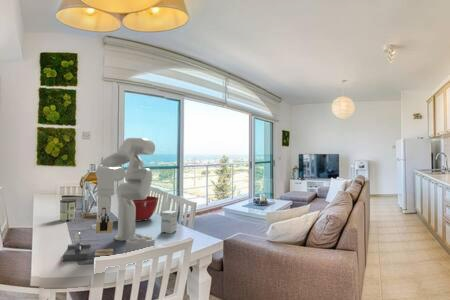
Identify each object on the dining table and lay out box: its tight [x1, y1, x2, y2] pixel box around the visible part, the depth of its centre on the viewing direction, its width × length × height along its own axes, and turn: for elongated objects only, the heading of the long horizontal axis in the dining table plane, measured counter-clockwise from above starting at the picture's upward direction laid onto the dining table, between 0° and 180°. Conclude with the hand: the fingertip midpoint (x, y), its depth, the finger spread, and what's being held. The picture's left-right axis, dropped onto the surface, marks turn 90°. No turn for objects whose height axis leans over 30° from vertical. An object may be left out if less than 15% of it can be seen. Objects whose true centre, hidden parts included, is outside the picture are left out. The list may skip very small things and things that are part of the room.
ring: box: [95, 219, 114, 234], centre depth 144 cm, size 7×7×5 cm
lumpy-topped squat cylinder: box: [125, 233, 155, 254], centre depth 144 cm, size 10×13×9 cm
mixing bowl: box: [132, 195, 159, 221], centre depth 217 cm, size 28×28×16 cm
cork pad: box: [93, 248, 114, 258], centre depth 144 cm, size 8×8×1 cm
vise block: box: [62, 232, 92, 263], centre depth 139 cm, size 12×10×11 cm
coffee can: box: [59, 198, 77, 222], centre depth 213 cm, size 10×10×14 cm
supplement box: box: [160, 209, 178, 234], centre depth 185 cm, size 7×7×13 cm
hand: (104, 228), depth 144 cm, fingers closed on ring, 7 cm apart
